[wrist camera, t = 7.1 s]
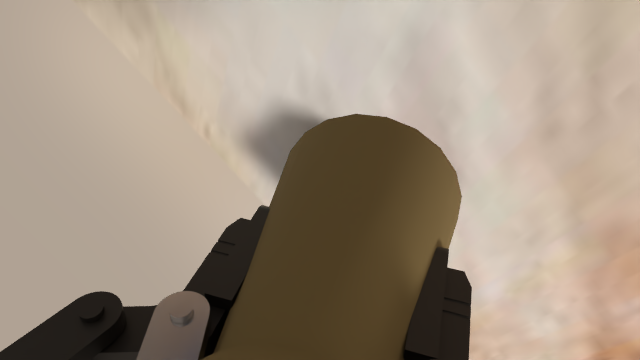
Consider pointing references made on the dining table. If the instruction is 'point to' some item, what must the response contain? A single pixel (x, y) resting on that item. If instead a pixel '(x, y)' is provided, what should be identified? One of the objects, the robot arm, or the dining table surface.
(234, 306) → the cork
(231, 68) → the dining table surface
